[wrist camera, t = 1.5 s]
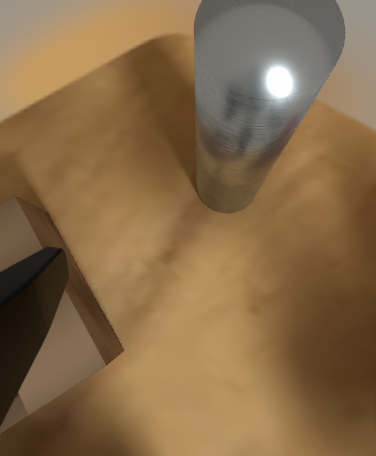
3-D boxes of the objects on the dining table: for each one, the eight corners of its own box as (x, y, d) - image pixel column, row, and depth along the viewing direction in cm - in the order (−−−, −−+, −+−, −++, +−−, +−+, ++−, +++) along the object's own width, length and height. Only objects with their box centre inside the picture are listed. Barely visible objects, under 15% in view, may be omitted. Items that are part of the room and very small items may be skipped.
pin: (262, 209, 21) (360, 86, 8) (200, 216, 21) (204, 106, 8) (252, 150, 22) (328, -43, 9) (192, 158, 22) (185, -24, 9)
